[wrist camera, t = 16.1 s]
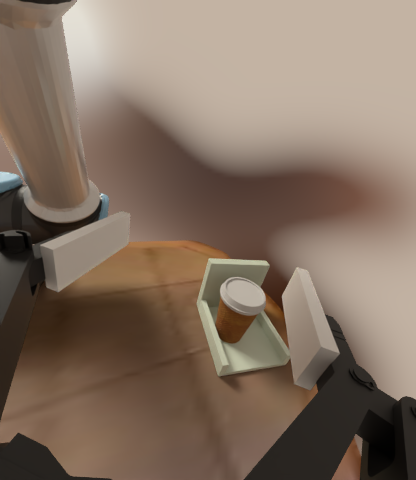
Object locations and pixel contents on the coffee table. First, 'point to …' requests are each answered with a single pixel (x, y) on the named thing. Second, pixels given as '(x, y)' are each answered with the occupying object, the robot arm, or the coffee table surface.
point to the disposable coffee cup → (238, 308)
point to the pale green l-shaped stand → (257, 335)
